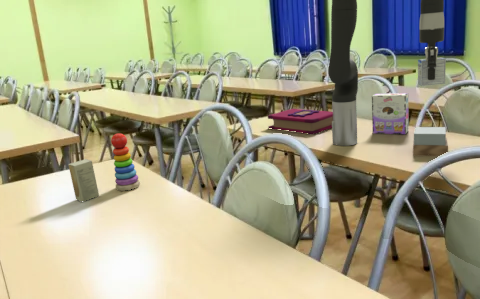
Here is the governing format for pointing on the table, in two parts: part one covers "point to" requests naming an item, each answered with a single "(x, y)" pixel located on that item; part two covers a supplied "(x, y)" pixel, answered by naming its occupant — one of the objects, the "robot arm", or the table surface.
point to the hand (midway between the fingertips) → (431, 78)
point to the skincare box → (83, 180)
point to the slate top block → (430, 136)
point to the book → (302, 120)
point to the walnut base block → (430, 149)
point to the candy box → (390, 113)
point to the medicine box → (438, 72)
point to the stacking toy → (123, 164)
